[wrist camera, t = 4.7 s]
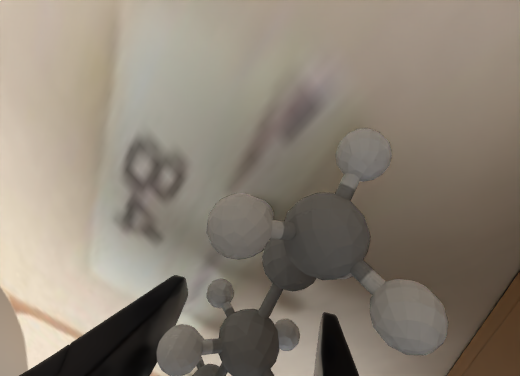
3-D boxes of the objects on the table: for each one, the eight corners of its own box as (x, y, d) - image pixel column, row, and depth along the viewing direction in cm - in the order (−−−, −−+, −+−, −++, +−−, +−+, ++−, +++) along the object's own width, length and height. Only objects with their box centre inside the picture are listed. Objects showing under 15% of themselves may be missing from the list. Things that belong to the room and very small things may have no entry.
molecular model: (253, 373, 14) (210, 523, 9) (181, 335, 14) (108, 463, 10) (449, 148, 6) (659, 371, 2) (289, 72, 6) (179, 133, 2)
